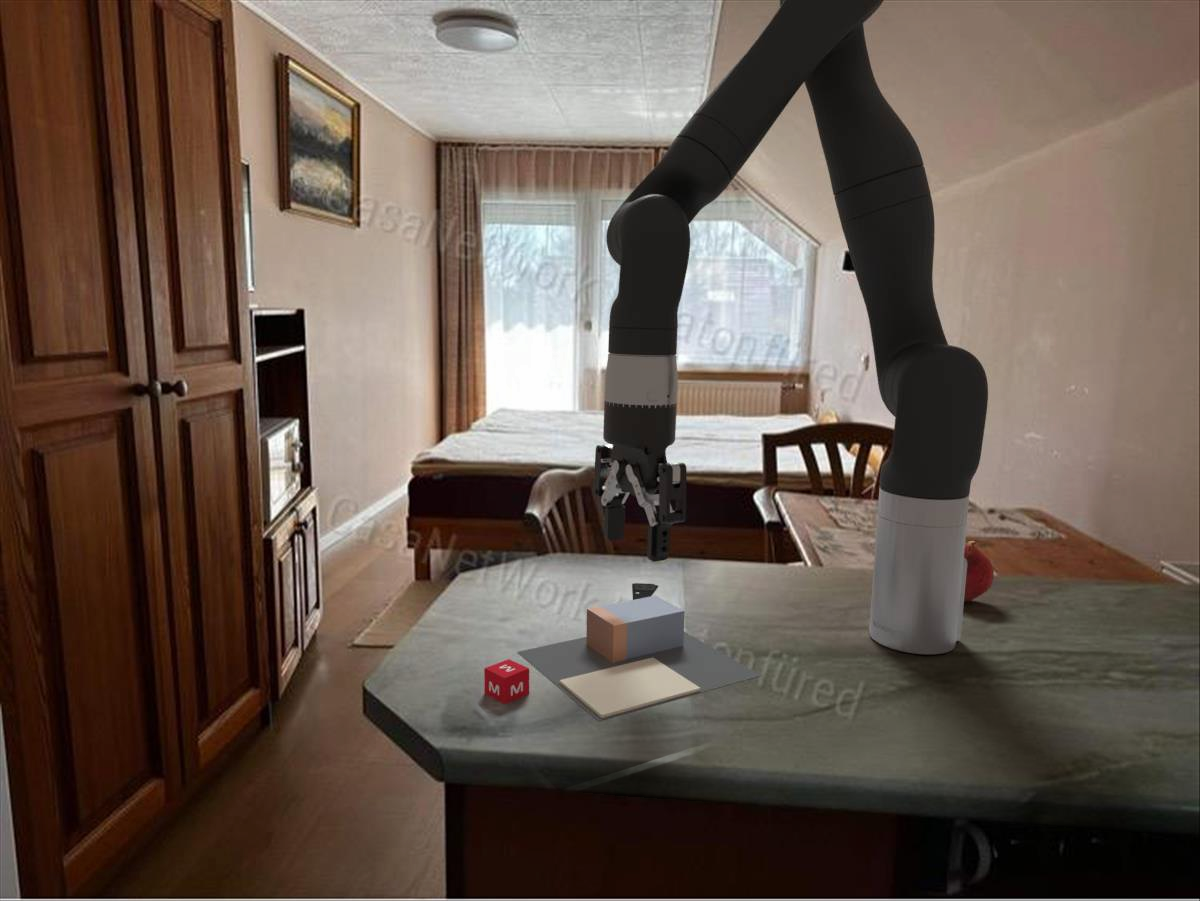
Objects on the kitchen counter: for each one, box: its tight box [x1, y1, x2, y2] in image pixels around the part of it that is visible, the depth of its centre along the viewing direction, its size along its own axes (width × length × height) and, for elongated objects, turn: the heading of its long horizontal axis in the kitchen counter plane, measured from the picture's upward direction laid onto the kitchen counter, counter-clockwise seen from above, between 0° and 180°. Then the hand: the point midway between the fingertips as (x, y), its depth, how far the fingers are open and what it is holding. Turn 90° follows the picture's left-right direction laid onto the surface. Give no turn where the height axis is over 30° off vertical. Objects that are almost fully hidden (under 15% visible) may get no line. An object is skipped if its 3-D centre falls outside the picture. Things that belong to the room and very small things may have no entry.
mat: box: [516, 631, 763, 722], centre depth 83 cm, size 19×17×1 cm
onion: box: [964, 540, 995, 602], centre depth 104 cm, size 6×6×8 cm
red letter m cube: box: [483, 658, 530, 705], centre depth 76 cm, size 3×3×3 cm
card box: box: [585, 595, 685, 663], centre depth 88 cm, size 9×6×4 cm, turn 121°
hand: (634, 549), depth 86 cm, fingers open, 8 cm apart
